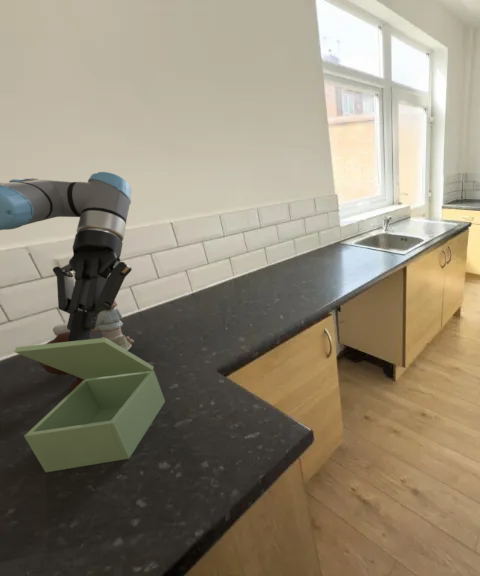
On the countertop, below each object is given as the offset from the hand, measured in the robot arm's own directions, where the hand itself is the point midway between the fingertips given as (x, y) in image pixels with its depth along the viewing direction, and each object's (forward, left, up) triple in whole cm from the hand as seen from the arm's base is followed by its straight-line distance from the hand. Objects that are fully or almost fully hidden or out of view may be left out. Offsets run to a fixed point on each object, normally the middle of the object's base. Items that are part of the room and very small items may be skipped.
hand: (77, 346), depth 59 cm
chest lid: (0, +2, -5) cm, 5 cm away
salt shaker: (-28, +23, -21) cm, 42 cm away
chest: (0, -1, -20) cm, 20 cm away
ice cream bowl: (-20, +15, -21) cm, 33 cm away
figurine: (-24, +31, -21) cm, 45 cm away
